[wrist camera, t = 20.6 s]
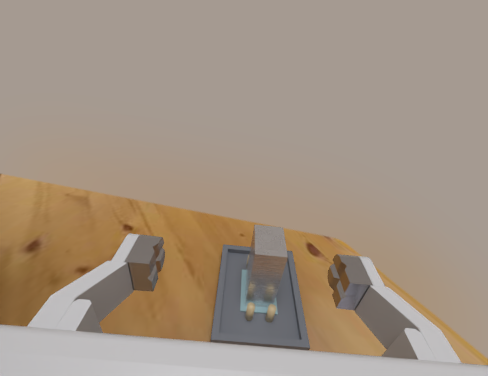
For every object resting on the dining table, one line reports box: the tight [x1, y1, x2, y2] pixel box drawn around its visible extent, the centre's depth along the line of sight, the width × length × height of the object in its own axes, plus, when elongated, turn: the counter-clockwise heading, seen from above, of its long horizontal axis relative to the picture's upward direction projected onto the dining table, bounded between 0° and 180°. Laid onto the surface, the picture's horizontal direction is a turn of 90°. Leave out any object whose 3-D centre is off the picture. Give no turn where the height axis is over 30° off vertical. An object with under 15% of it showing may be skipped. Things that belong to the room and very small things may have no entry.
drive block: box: [245, 225, 288, 307], centre depth 39 cm, size 4×6×12 cm
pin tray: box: [211, 245, 310, 350], centre depth 42 cm, size 14×18×4 cm
